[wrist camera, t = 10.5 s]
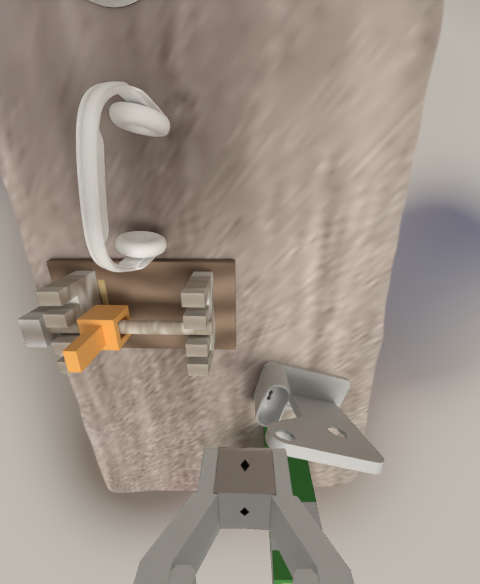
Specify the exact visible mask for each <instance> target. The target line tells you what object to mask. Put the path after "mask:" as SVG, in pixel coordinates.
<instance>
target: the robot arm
mask: <svg viewBox="0 0 480 584" xmlns="http://www.w3.org/2000/svg"><path fill="white" fill-rule="evenodd" d="M89 1H91V2H93V3H95V4H98V5H101V6H105V7H122V6H126V5H129V4H132V3H134V2H136V1H138V0H89ZM244 526H245V528H246V529H261V530H269V532H270V534H271V536H272V538H273V540H274V542H275V544H276V546H277V548H278V550H279V552H280V554H281V556H282V558H283V560H284V561H285V563H286V565H287V567H288V569H289V571H290V573H291V575H292V577H293V582H292V584H354V582H353V578H352V574H351V570H350V569H349V567H348V566H347V564H346V563H345V562H344V560H343V559H342V557H341V556H340V555H339V553H338V552H337V551H336V549H335V548H334V546H333V545H332V544H331V542H330V541H329V539H328V538H327V537H326V535H325V534H324V533H323V531H322V530H321V528H320V527H319V526H318V524H317V523H316V522H315V520H314V519H313V517H312V516H311V515H310V513H309V512H308V510H307V509H306V508H305V506H304V505H303V504H302V502H301V501H300V499H299V498H298V497H297V496H293V493H292V486H291V479H290V473H289V466H288V459H287V452H286V450H285V448H272V449H271V448H229V447H205V450H204V454H203V460H202V466H201V472H200V478H199V484H198V490H197V493H193V494H192V495H191V496H190V498H189V499H188V500H187V501H186V503H185V504H184V505H183V507H182V508H181V509H180V511H179V512H178V513H177V514H176V516H175V517H174V518H173V519H172V521H171V522H170V523H169V525H168V526H167V527H166V529H165V530H164V531H163V532H162V534H161V535H160V536H159V538H158V539H157V540H156V542H155V543H154V544H153V545H152V547H151V548H150V549H149V550H148V552H147V553H146V554H145V556H144V557H143V558H142V560H141V561H140V563H139V566H138V570H137V573H136V577H135V580H134V584H196V577H195V575H196V573H197V571H198V569H199V567H200V566H201V564H202V562H203V560H204V558H205V556H206V555H207V552H208V551H209V549H210V547H211V546H212V544H213V542H214V540H215V538H216V536H217V535H218V533H219V531H220V528H244Z"/></svg>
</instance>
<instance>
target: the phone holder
mask: <svg viewBox="0 0 480 584" xmlns="http://www.w3.org/2000/svg"><path fill="white" fill-rule="evenodd" d="M349 387H350V383H349V381H348V379H347V378H344V377H340V376H336V375H331V374H327V373H323V372H318V371H314V370H310V369H305V368H301V367H297V366H292V365H288V364H284V363H279V362H275V361H268V362H266V363H265V364H264V366H263V369H262V372H261V375H260V377H259V380H258V383H257V386H256V389H255V392H254V400H255V417H256V421H257V422H258V423H259V424H260V425H262V426H265V427H267V431H266V435H265V439H266V443H267V445H268V446H269V447H270V448H271V449H272V448H285V450H286V452H287V456H289V457H294V458H298V459H303V460H308V461H313V462H317V463H322V464H327V465H332V466H337V467H342V468H346V469H351V470H356V471H361V472H366V473H371V474H380V473H381V470H382V466H383V462H384V458H383V456H382V455H381V454H380V453H379V452H378V451H377V450H376V449H375V447H374V446H373V445H372V444H371V443H370V442H369V441H368V440H367V438H366V437H365V436H364V435H363V434H362V433H361V432H360V431H359V430H358V428H357V427H356V426H355V425H354V424H353V423H352V422H351V421H350V419H349V418H348V417H347V416H346V415H345V414H344V413H343V412H342V411H341V409H340V408H339V407H340V405H341V403H342V401H343V399H344V397H345V395H346V393H347V391H348V389H349ZM285 409H288V410H293V411H294V413H295V415H296V416H297V418H294V419H289V420H284V421H280V420H281V417H282V415H283V413H284V410H285ZM328 428H335V429H337V430H338V431H339V432H340V433H342V434H343V435H344V436H345V437H340V436H337V435H335V434H333V433H331V432H330V431H329V430H328ZM281 438H283V439H281ZM284 439H285V440H284ZM286 440H287V441H286Z"/></svg>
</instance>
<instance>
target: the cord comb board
mask: <svg viewBox="0 0 480 584" xmlns="http://www.w3.org/2000/svg"><path fill="white" fill-rule="evenodd" d="M111 260H112V261H113V262H115V263H116V264H118V265H119V263H120V261H122V260H123V259H111ZM46 262H47V266H48V269H49V273H50V277H51V280H52V283H51V284H49V285H47V286H45V287H43V288H41V289H39V290H37V291H35V292H36V296H37V299H38V302H39V305H40V306H39V307H38V308H36V309H34V310H33V311H31V312H29V313H28V314H26V315H24V316H22V317H21V318H19V319H18V323H19V326H20V329H21V332H22V334H23V337H24V340H25V343H26V346H27V347H48V346H49V345H51V344H52V348H53V351H54V354H61V355H63V352H62V351H63V350H64V349H65V348H66V347H67V346H68V345H70V344H71V343H72V342H73V341H74V340H75V339H76V338H77V337H78V336H80V331H79V327H78V323H77V319H78V318H79V317H81V316H82V315H83V314H84V313H86V312H87V311H88V310H89V309H91V308H92V307H93V306H94V305H128V309H129V315H130V320H120V321H119V322H118V327H119V332H120V334H131V336H130V337H129V338H128V339H127V341H126V342H125V343H124V345H123V346H122V347H121V348H170V349H186V357H189V360H188V363H187V368H188V375H191V376H209V372H210V367H211V362H212V357H213V352H214V349H236V302H235V260H152V261H151V262H150V263H149V264H148V265H147V266H146V267H145V268H143V269H140V270H135V271H128V272H112V271H109V270H107V269H105V268H102V267H100V266H99V265H97V264H96V263H95V262H94V260H93V259H51V260H49V261H46ZM57 364H58V367H59V370H60V373H80V372H68V369H67V366H66V362H65V359H64V356H63V357H62V358H61V359H60V360H58V361H57Z"/></svg>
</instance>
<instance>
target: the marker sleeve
mask: <svg viewBox="0 0 480 584" xmlns="http://www.w3.org/2000/svg"><path fill="white" fill-rule="evenodd" d="M120 320H130V315H129V309H128V305H94V306H93V307H92V308H91V309H89V310H88V311H87V312H86V313H84V314H83V315H82V316H81V317H79V318H78V319H77V323H78V327H79V331H80V336H78V337H77V338H76V339H75V340H74V341H73V342H72V343H71V344H70V345H68V346H67V347H66V348H65V349H64V350H63V351H62V352H63V355H64V359H65V362H66V366H67V369H68V372H80V373H82V371H83V370H84V369H85V368H86V367H87V366H88V365H89V364H90V362H91V361H92V360H93V359H94V358H95V357H96V356H97V354H98V353H99V352H100V351H101V350H120V349H121V347H122V346H123V345H124V343H125V342H126V341H127V339H128V338H129V337H130V336H131V334H120V332H119V327H118V322H119V321H120Z"/></svg>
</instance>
